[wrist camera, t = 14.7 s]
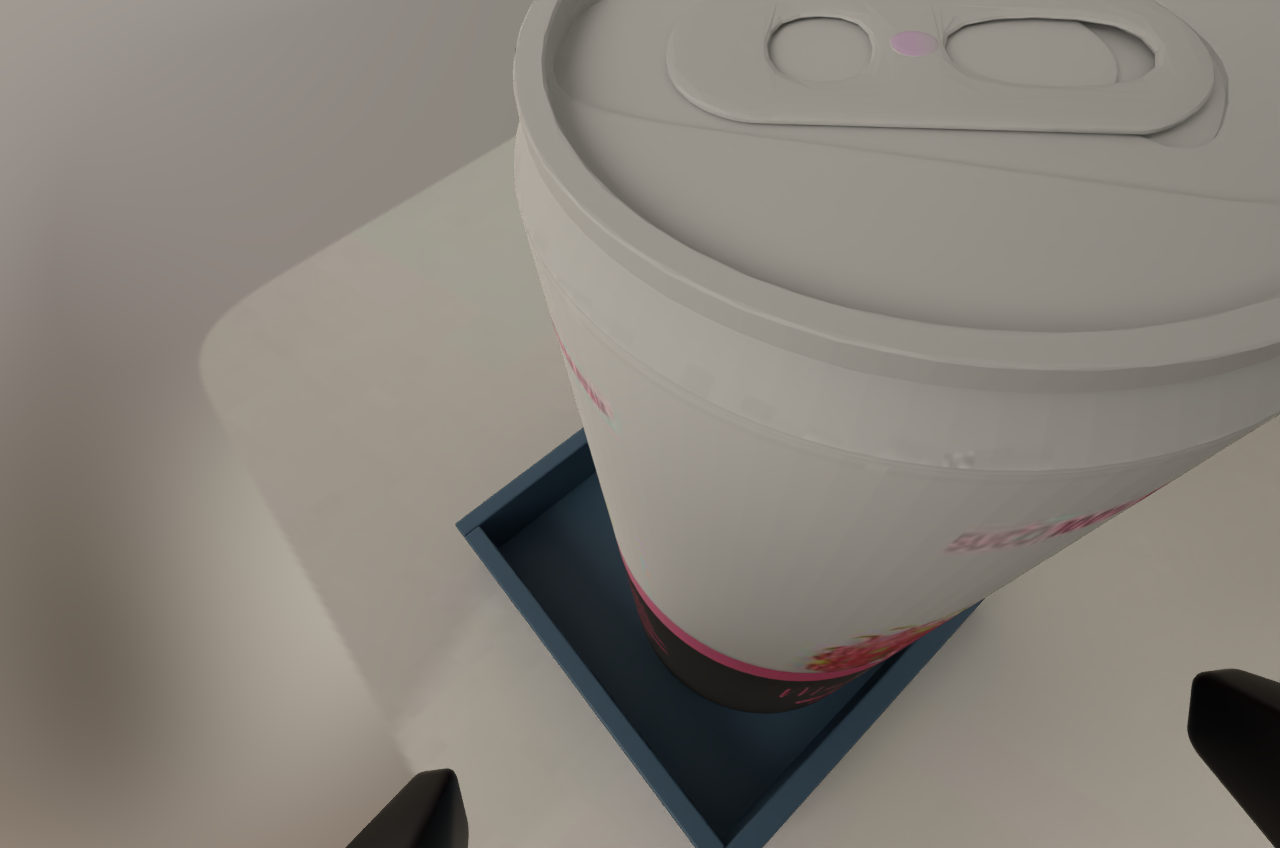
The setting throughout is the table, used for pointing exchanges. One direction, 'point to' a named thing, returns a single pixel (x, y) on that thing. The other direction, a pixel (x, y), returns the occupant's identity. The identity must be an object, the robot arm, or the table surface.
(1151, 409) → the beverage can
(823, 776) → the blue square tray
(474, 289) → the table surface
